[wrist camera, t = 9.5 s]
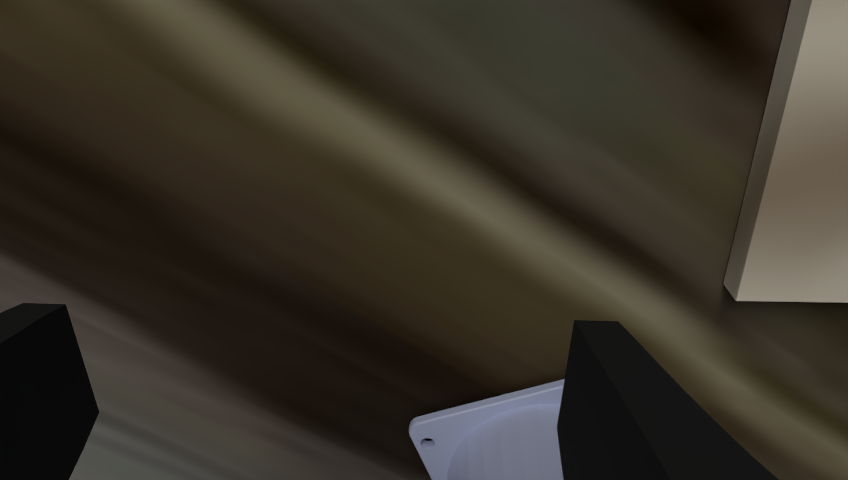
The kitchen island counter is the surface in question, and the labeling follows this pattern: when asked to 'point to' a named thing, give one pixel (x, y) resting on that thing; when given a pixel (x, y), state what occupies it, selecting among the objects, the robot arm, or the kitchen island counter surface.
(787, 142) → the board
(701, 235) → the kitchen island counter surface
